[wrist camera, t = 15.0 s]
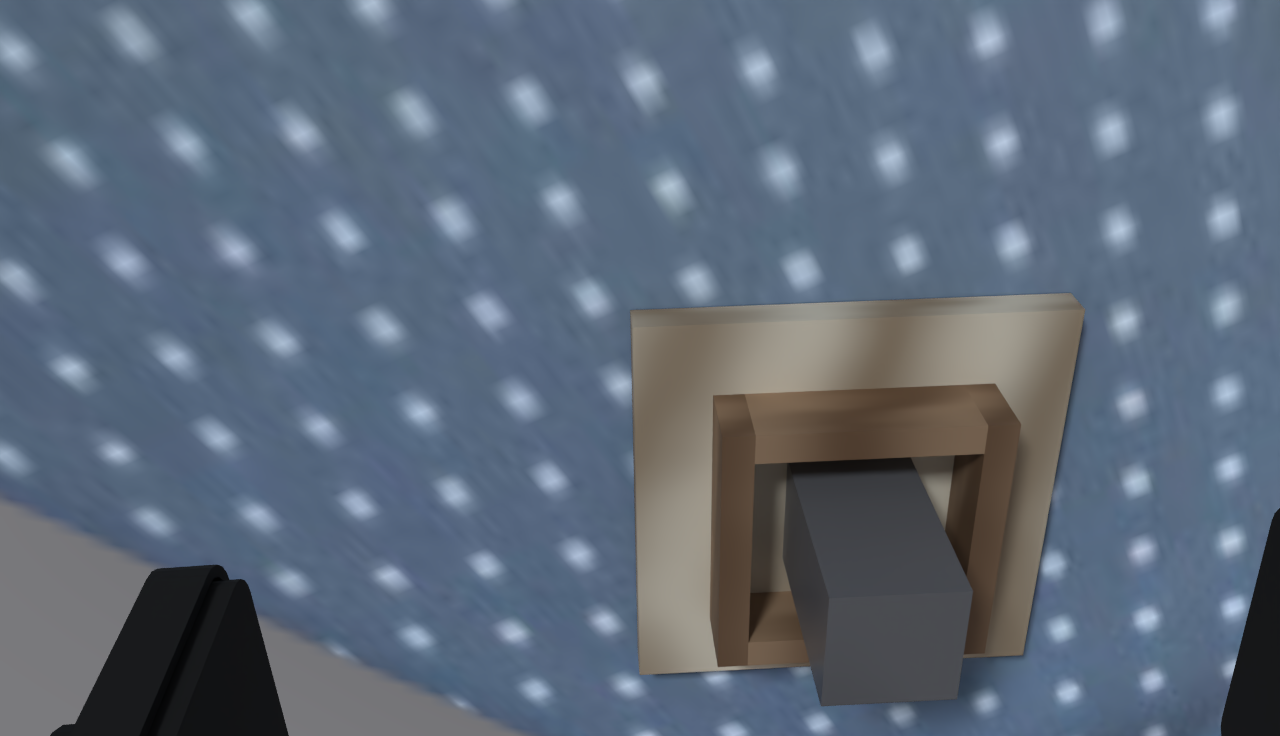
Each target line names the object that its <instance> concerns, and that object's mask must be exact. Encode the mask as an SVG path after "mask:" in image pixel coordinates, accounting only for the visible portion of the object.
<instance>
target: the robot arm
mask: <svg viewBox="0 0 1280 736" xmlns="http://www.w3.org/2000/svg"><path fill="white" fill-rule="evenodd" d="M50 736H289V735H288V731H287V728H286V724H285V720H284V716H283V712H282V709H281V705H280V702H279V697H278V694H277V690H276V686H275V682H274V679H273V675H272V671H271V667H270V664H269V660H268V656H267V652H266V649H265V645H264V641H263V637H262V633H261V630H260V626H259V622H258V618H257V615H256V611H255V607H254V603H253V600H252V596H251V592H250V589H249V587H248V584H247V583H246V582H245V580H242V579H236V580H229V578H228V575H227V572H226V571H225V570H224V568H223V567H222V566H220V565H204V566H190V567H176V568H161V569H156V570H154V571H152V572H151V574H150V575H149V576H148V578H147V579H146V581H145V583H144V586H143V587H142V590H141V592H140V594H139V596H138V598H137V600H136V602H135V604H134V606H133V608H132V610H131V612H130V614H129V616H128V618H127V620H126V622H125V624H124V626H123V628H122V630H121V632H120V634H119V636H118V638H117V640H116V642H115V644H114V646H113V649H112V650H111V652H110V654H109V656H108V659H107V661H106V663H105V664H104V667H103V669H102V671H101V673H100V675H99V677H98V679H97V681H96V683H95V685H94V687H93V689H92V691H91V693H90V695H89V697H88V699H87V701H86V703H85V705H84V707H83V709H82V711H81V713H80V715H79V717H78V719H77V721H76V723H75V724H69V725H62V726H61V727H59V728H58V729H57V730H55V731H54V732H52V734H51V735H50ZM1221 736H1280V508H1279V509H1278V510H1277V512H1276V513H1275V514H1274V517H1273V519H1272V522H1271V526H1270V530H1269V534H1268V538H1267V542H1266V546H1265V550H1264V554H1263V558H1262V562H1261V566H1260V570H1259V573H1258V577H1257V581H1256V585H1255V589H1254V593H1253V597H1252V601H1251V605H1250V609H1249V613H1248V617H1247V621H1246V625H1245V629H1244V633H1243V637H1242V641H1241V645H1240V649H1239V653H1238V657H1237V661H1236V664H1235V668H1234V672H1233V676H1232V680H1231V684H1230V688H1229V692H1228V696H1227V700H1226V704H1225V708H1224V712H1223V716H1222V722H1221Z"/></svg>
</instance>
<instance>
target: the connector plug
mask: <svg viewBox="0 0 1280 736" xmlns="http://www.w3.org/2000/svg"><path fill="white" fill-rule="evenodd" d="M782 558H783V562H784V566H785V570H786V573H787V577H788V581H789V585H790V589H791V593H792V596H793V600H794V604H795V608H796V612H797V616H798V620H799V623H800V627H801V631H802V635H803V639H804V643H805V647H806V650H807V654H808V658H809V662H810V666H811V670H812V674H813V677H814V681H815V685H816V689H817V693H818V697H819V701H820V704H821V706H836V705H855V704H874V703H893V702H912V701H931V700H950V699H957V695H958V689H959V682H960V675H961V669H962V662H963V655H964V649H965V642H966V635H967V629H968V622H969V615H970V609H971V602H972V595H973V590H972V588H971V586H970V583H969V581H968V579H967V577H966V575H965V573H964V571H963V568H962V566H961V564H960V562H959V560H958V558H957V556H956V553H955V551H954V549H953V547H952V545H951V543H950V541H949V539H948V536H947V534H946V532H945V530H944V528H943V526H942V524H941V521H940V519H939V517H938V515H937V513H936V511H935V509H934V506H933V504H932V502H931V500H930V498H929V496H928V494H927V491H926V489H925V487H924V485H923V483H922V481H921V479H920V476H919V474H918V472H917V470H916V468H915V466H914V464H913V461H912V459H911V457H904V458H882V459H859V460H837V461H815V462H792V463H787V479H786V498H785V517H784V536H783V555H782Z"/></svg>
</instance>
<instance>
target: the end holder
mask: <svg viewBox="0 0 1280 736" xmlns="http://www.w3.org/2000/svg"><path fill="white" fill-rule="evenodd" d="M1084 313H1085V309H1084V308H1083V307H1082V305H1081V304H1080V303H1079V302H1078V301H1077V300H1076V299H1075V297H1074V296H1073V295H1072V294H1071V293H1061V294H1035V295H1009V296H984V297H958V298H933V299H907V300H881V301H856V302H830V303H804V304H779V305H753V306H728V307H702V308H676V309H651V310H630V317H631V362H632V407H633V452H634V497H635V542H636V587H637V632H638V659H639V672H640V675H647V674H667V673H686V672H705V671H725V670H744V669H763V668H783V667H802V666H810V662H809V658H808V654H807V650H806V647H805V643H804V639H803V635H802V631H801V627H800V623H799V620H798V616H797V612H796V608H795V604H794V600H793V596H792V593H791V589H790V585H789V581H788V577H787V573H786V570H785V566H784V562H783V558H782V555H783V536H784V517H785V498H786V479H787V463H792V462H815V461H837V460H859V459H882V458H904V457H911V459H912V461H913V464H914V466H915V468H916V470H917V472H918V474H919V476H920V479H921V481H922V483H923V485H924V487H925V489H926V491H927V494H928V496H929V498H930V500H931V502H932V504H933V506H934V509H935V511H936V513H937V515H938V517H939V519H940V521H941V524H942V526H943V528H944V530H945V532H946V534H947V536H948V539H949V541H950V543H951V545H952V547H953V549H954V551H955V553H956V556H957V558H958V560H959V562H960V564H961V566H962V568H963V571H964V573H965V575H966V577H967V579H968V581H969V583H970V586H971V588H972V590H973V595H972V602H971V609H970V615H969V622H968V629H967V635H966V642H965V649H964V655H963V658H976V657H996V656H1015V655H1023V651H1024V646H1025V640H1026V635H1027V629H1028V623H1029V618H1030V612H1031V607H1032V601H1033V596H1034V590H1035V585H1036V579H1037V574H1038V568H1039V562H1040V557H1041V551H1042V546H1043V540H1044V535H1045V529H1046V524H1047V518H1048V513H1049V507H1050V501H1051V496H1052V490H1053V485H1054V479H1055V474H1056V468H1057V463H1058V457H1059V452H1060V446H1061V440H1062V435H1063V429H1064V424H1065V418H1066V413H1067V407H1068V402H1069V396H1070V391H1071V385H1072V380H1073V374H1074V368H1075V363H1076V357H1077V352H1078V346H1079V341H1080V335H1081V330H1082V324H1083V319H1084Z"/></svg>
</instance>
